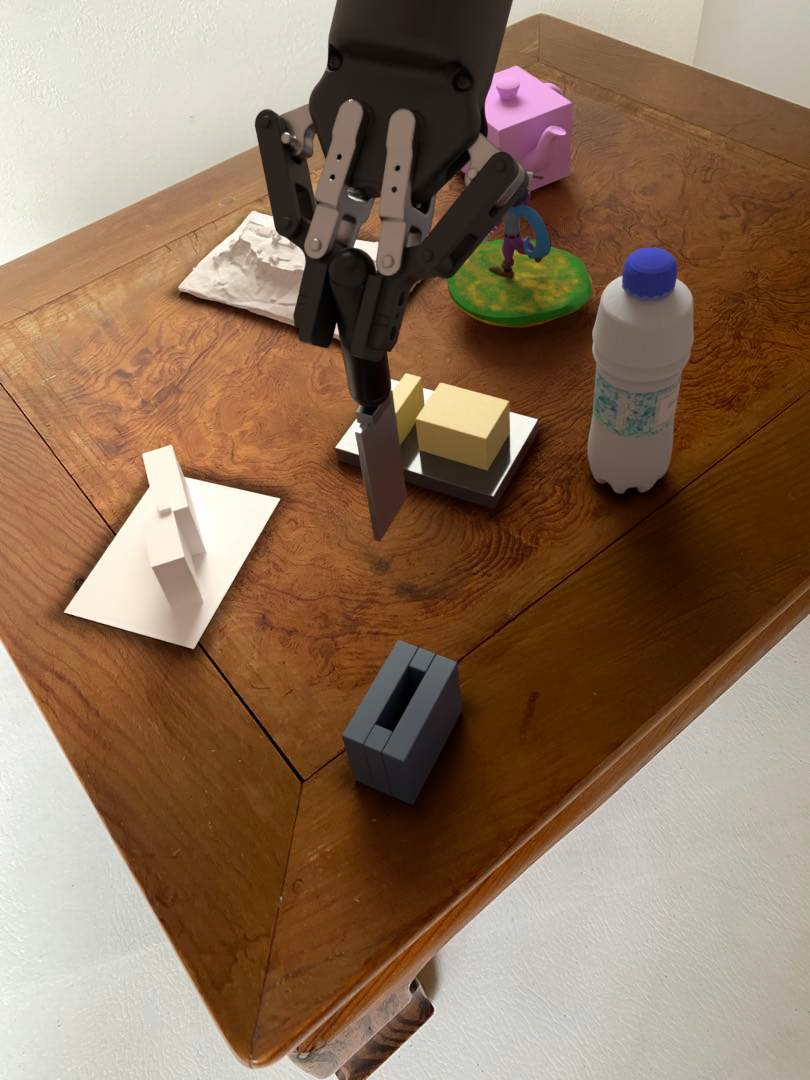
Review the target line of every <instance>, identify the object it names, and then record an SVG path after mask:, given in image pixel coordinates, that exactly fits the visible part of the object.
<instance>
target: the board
mask: <svg viewBox="0 0 810 1080" xmlns="http://www.w3.org/2000/svg"><path fill="white" fill-rule="evenodd" d="M399 382H400V380H396V379H392V378H391V389H392V391H393V390H394V389H395V387H396V386H397V384H398V383H399ZM434 391H435V390H432V389H430V388H429V389H428V388H425V387H423V394H424V403H425V404H426V403H427V401H428V400H429V398H430V397H431V395H432V394H433V392H434ZM360 424H361V423H358V422H357V418H355V420H354V421H353V422H352V424H351V425H350V426H349V427H348V428H347V430H346V432H345V433H344V434H343V436H342V437H341V439H340V440H339V442H338V443H337V444H336V446H335V447H334V450H335V455H336V459H337V461H339V462H341V463H345V464H348V465H351V466H354V467H358V468H360V469H361V463H360V458H359V453H358V447H357V442H356V436H355V431H356V429H357V428H358V427H359V425H360ZM538 434H539V419H538V418H534V417H531V416H527V415H524V414H520V413H516V412H513V411H510V434H509V435H508V437H507V439H506V440H505V442H504V444H503V445H502V447H501V449H500V450H499V452H498V454H497V455H496V457H495V459H494V461H493V462H492V464H491V466H490V467H489V469H488V470H484V469H480V468H477V467H474V466H470V465H467V464H464V463H460V462H457V461H453V460H450V459H447V458H443V457H440V456H437V455H433V454H430V453H427V452H423V451H420V450H419V445H418V437H417V429H416V423H415V424H414V426H413V427H412V429H411V430H410V432H409V433H408V435H407V436H406V438H405V439H404V441H403V442H402V444H401V445H400V450H401V458H402V465H403V473H404V480H405V483H409V484H412V485H414V486H418V487H421V488H424V489H428V490H431V491H434V492H437V493H440V494H444V495H446V496H450V497H453V498H456V499H460V500H462V501H466V502H469V503H472V504H475V505H479V506H482V507H485V508H489V509H491V510H495V509H496V507H497V505H498V503H499V502H500V500H501V498H502V496H503V495H504V493H505V491H506V489H507V488H508V486H509V484H510V482H511V481H512V479H513V478H514V476H515V474H516V472H517V470H518V468H519V467H520V465H521V464H522V462H523V460H524V458H525V457H526V454H527V453H528V451H529V449H530V448H531V445H532V444H533V442H534V441H535V439H536V437H537V435H538Z"/></svg>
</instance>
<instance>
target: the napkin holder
mask: <svg viewBox="0 0 810 1080" xmlns="http://www.w3.org/2000/svg"><path fill="white" fill-rule="evenodd" d="M141 455H142V459H143V464H144V468H145V473H146V476H147V481H148V485H149V487H148V489H147V490H146V492H145V493H144V494H143V496H142V497H141V499H140V500H139V501H138V503H137V504H136V506H135V507H134V509H133V511H132V512H131V513H130V515H129V516H128V518H127V519H126V520H125V522H124V524H123V525H122V526H121V528H120V529H119V530H118V532H117V534H116V535H115V536H114V538H113V540H112V541H111V542H110V543H109V545H108V547H107V549H106V550H105V551H104V552H103V554H102V556H101V557H100V559H99V560H98V561H97V563H95V565H94V567H93V569H92V570H91V572H90V573H89V575H88V576H87V577H86V579H85V580H84V582H83V583H82V585H81V586H80V588H79V589H78V590H77V592H76V593H75V595H74V596H73V598H72V599H71V600H70V602H69V604H68V605H67V607H66V608H65V609H64V611H63V613H65V614H69V615H73V616H75V617H78V618H82V619H86V620H89V621H93V622H96V623H100V624H104V625H106V626H110V627H114V628H117V629H121V630H125V631H128V632H130V633H131V632H132V633H135V634H138V635H142V636H146V637H150V638H153V639H157V640H160V641H164V642H167V643H171V644H174V645H178V646H181V647H185V648H189V649H192V650H194V649H195V648H196V646H197V644H198V642H199V641H200V639H201V638H202V636H203V634H204V632H205V630H206V629H207V628H208V625H209V623H210V622H211V620H212V618H213V616H214V615H215V613H216V612H217V609H218V608H219V606H220V604H221V602H222V601H223V599H224V597H225V596H226V594H227V593H228V590H229V589H230V587H231V586H232V584H233V582H234V580H235V578H236V577H237V575H238V573H239V571H240V570H241V568H242V567H243V564H244V562H245V561H246V559H247V557H248V556H249V554H250V552H251V551H252V549H253V547H254V546H255V544H256V542H257V541H258V539H259V537H260V535H261V534H262V532H263V530H264V528H265V526H266V524H267V523H268V521H269V520H270V517H271V516H272V515H273V513H274V511H275V509H276V508H277V506H278V504H279V502H280V500H281V498H279V497H274V496H271V495H266V494H262V493H257V492H253V491H249V490H244V489H239V488H236V487H230V486H226V485H222V484H217V483H213V482H209V481H205V480H201V479H195V478H191V477H186V476H185V475H184V473H183V470H182V467H181V464H180V462H179V460H178V457H177V455H176V452H175V450H174V446H173V444H170V445H166V446H163V447H160V448H157V449H156V448H155V449H153V450H149V451H147V452H143V453H141Z"/></svg>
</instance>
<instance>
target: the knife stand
mask: <svg viewBox="0 0 810 1080" xmlns="http://www.w3.org/2000/svg"><path fill="white" fill-rule="evenodd" d="M459 672H460V671H459V664H458V662H457V661H456V660H452V659H450V658H447V657H445V656H442V655H439V654H436V653H435V652H432V651H429V650H426V649H424V648H421V647H418V646H416V645H413V644H410V643H408V642H405V641H403V640H400V639H397V640H396V642H395V644H394V645H393V647H392V650H391V651H390V653H389V654H388V656H387V658H386V659H385V661H384V662H383V664H382V665H381V668H380V669H379V671H378V673H377V675H376V676H375V678H374V680H373V681H372V683H371V684H370V686H369V688H368V690H367V691H366V694H364V697H363V698H362V700H361V702H360V704H359V705H358V707H357V708H356V710H355V712H354V713H353V715H352V717H351V718H350V720H349V722H348V724H347V725H346V727H345V729H344V730H343V732H342V734H341V738H342V741H343V742H342V743H343V745H344V749H345V751H346V755H347V758H348V761H349V762H348V763H349V765H350V768H351V771H352V775H353V779H354V781H357V782H359V783H361V784H363V785H366V786H368V787H370V788H372V789H375V790H376V791H379V792H381V793H383V794H386V795H388V796H390V797H393V798H395V799H397V800H400V801H402V802H405V803H407V804H409V805H414V804H415V802H416V800H417V798H418V796H419V794H420V793H421V790H422V788H423V787H424V786H425V783H426V781H427V780H428V777H429V775H430V773H431V771H432V770H433V768H434V766H435V764H436V762H437V760H438V758H439V756H440V754H441V753H442V751H443V748H444V747H445V745H446V742H447V741H448V739H449V737H450V735H451V733H452V731H453V729H454V728H455V725H456V724H457V722H458V719H459V718H460V715H461V713H462V711H463V702H462V694H461V684H460V674H459Z"/></svg>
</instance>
